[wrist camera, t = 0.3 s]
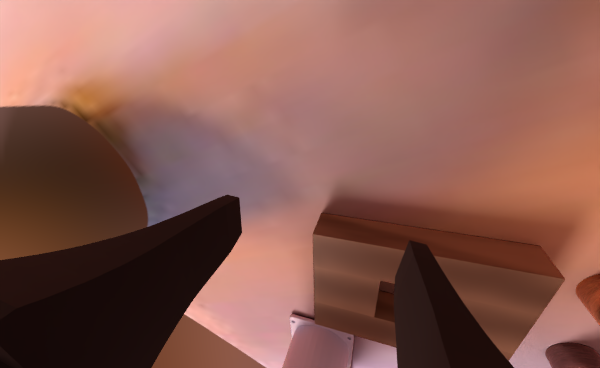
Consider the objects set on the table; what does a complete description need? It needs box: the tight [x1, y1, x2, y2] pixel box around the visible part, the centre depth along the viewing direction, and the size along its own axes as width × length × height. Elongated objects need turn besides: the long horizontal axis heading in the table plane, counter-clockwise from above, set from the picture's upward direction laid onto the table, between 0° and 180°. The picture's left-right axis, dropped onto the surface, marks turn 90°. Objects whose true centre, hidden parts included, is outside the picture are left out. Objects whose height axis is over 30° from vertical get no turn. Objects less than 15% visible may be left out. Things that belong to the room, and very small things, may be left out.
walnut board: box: [313, 213, 565, 361], centre depth 21 cm, size 12×16×3 cm
